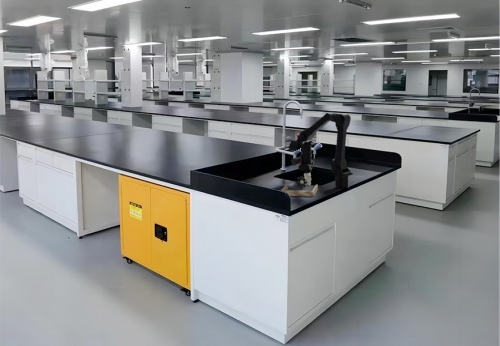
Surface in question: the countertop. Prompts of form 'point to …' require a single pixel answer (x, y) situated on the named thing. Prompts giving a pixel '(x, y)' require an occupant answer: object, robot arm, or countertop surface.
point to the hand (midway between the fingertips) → (306, 179)
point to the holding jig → (299, 193)
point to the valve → (304, 180)
